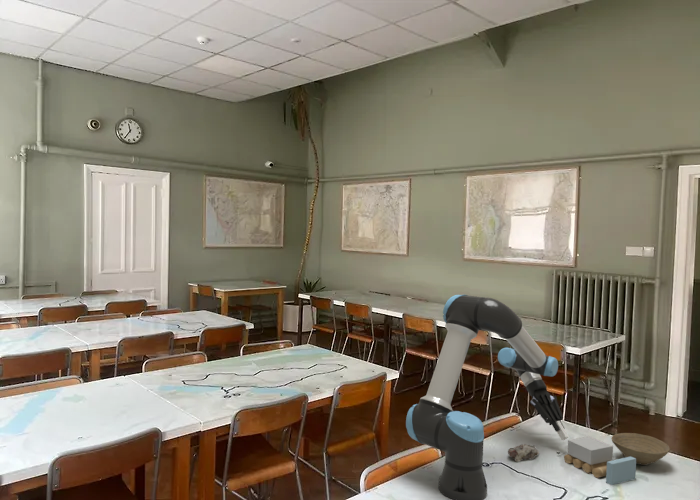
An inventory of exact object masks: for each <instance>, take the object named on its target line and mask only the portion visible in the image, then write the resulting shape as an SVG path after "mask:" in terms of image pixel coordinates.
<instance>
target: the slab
mask: <svg viewBox="0 0 700 500" xmlns="http://www.w3.org/2000/svg"><path fill="white" fill-rule="evenodd" d="M567 454H569V455H571V456H573V457H575V458H578V459H580V460H582V461H584V462H586V463H588V464H590V465H593V464H597V463H602V462H606V461H610V460H612V461H613V460H614V458H613V455H614V446H613V445H611V444H609V443H607V442H604V441H601V440H599V439H597V438H595V437H592V436H589V435H588V436H581V437H577V438H571V439H567ZM567 454H566V455H567Z"/></svg>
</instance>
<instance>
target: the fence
mask: <svg viewBox="0 0 700 500" xmlns="http://www.w3.org/2000/svg"><path fill="white" fill-rule="evenodd" d="M636 469H637V463H636V458H633V457H631V456H630V457H622V458H617V459H613V460H612V461H608V462H607V471H606V476H605V483H606V484H608V485H610V486H613V485H617V484H621V483H625V482H629V481H633V480H636V476H637V475H636V471H637V470H636Z"/></svg>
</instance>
